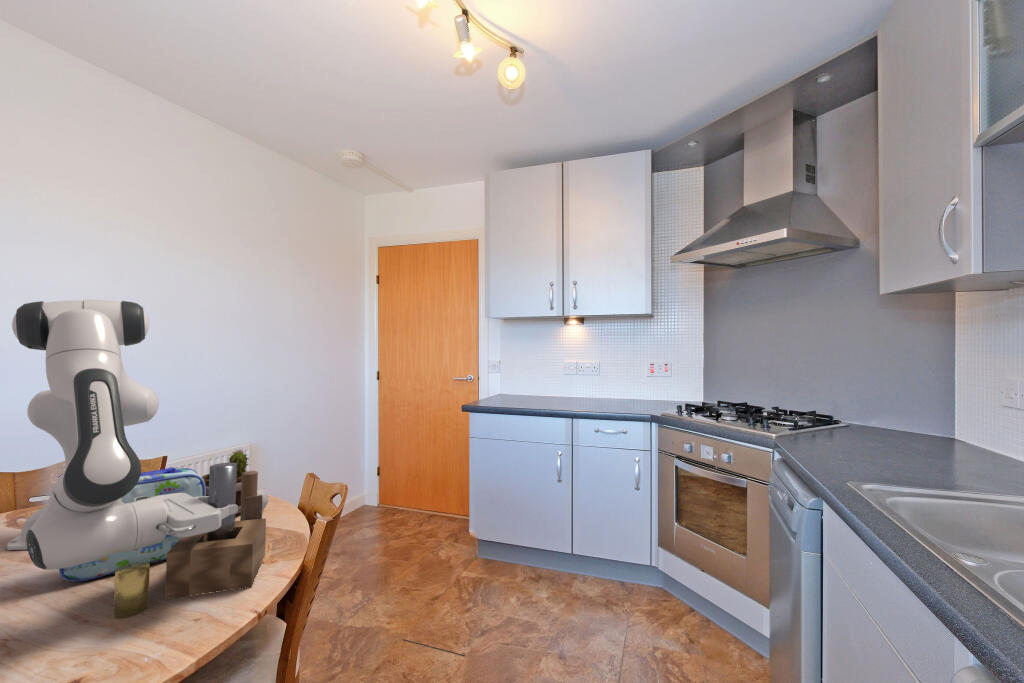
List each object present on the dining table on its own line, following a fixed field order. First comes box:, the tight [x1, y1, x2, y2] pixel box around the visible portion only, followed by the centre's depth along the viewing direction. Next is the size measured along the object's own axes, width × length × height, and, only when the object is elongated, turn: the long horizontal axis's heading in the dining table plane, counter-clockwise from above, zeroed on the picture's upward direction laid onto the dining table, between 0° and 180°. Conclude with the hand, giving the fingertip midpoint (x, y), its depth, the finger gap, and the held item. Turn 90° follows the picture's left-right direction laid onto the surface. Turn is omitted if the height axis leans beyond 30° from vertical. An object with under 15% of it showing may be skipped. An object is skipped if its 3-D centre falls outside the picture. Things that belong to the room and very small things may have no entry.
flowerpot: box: [201, 447, 250, 518], centre depth 134 cm, size 14×15×20 cm
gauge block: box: [164, 518, 267, 600], centre depth 98 cm, size 15×15×9 cm
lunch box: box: [57, 466, 206, 582], centre depth 104 cm, size 26×11×21 cm, turn 137°
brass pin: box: [113, 562, 151, 619], centre depth 84 cm, size 5×5×8 cm
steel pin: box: [207, 462, 237, 542], centre depth 98 cm, size 5×5×24 cm
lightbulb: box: [257, 488, 269, 515], centre depth 123 cm, size 6×6×11 cm
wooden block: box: [239, 470, 263, 521], centre depth 112 cm, size 4×11×18 cm, turn 38°
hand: (226, 503), depth 99 cm, fingers open, 8 cm apart
